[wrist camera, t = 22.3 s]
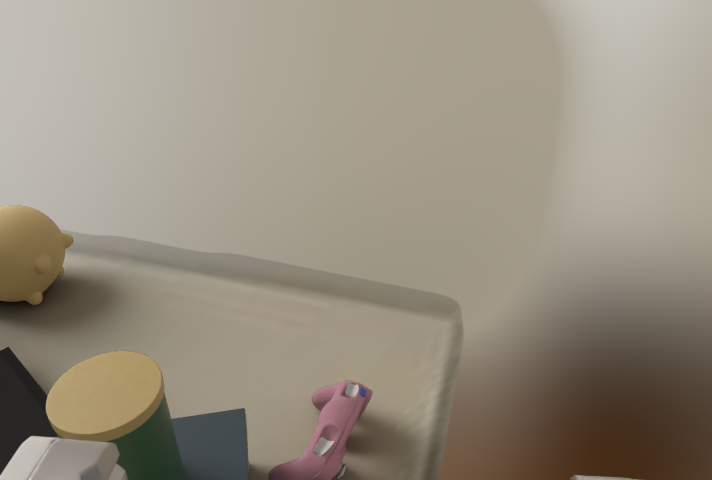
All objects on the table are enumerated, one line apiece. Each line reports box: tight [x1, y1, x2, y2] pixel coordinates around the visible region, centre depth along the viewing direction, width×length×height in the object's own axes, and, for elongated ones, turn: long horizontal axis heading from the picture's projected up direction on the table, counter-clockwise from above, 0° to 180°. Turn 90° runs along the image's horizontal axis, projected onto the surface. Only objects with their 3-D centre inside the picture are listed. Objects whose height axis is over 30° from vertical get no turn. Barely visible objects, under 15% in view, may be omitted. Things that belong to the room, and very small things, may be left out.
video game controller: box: [269, 380, 372, 480], centre depth 47 cm, size 10×5×7 cm, turn 160°
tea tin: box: [46, 351, 186, 480], centre depth 36 cm, size 6×6×10 cm
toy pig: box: [0, 205, 73, 305], centre depth 64 cm, size 10×12×11 cm
